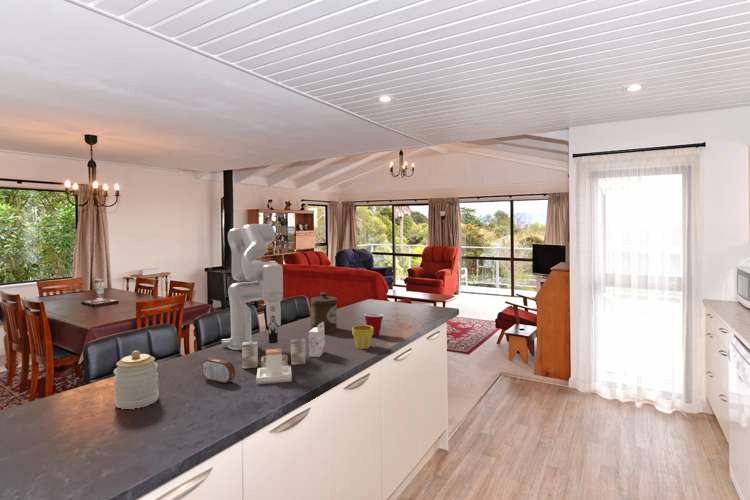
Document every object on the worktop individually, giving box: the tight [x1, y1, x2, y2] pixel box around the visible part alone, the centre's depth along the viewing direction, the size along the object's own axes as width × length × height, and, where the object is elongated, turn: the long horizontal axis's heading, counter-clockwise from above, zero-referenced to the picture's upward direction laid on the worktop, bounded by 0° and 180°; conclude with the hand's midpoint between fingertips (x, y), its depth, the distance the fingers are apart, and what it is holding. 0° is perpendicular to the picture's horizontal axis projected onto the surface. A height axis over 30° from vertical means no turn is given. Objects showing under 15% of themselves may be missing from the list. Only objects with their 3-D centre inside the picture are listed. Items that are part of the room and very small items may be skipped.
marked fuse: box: [265, 348, 283, 376], centre depth 162 cm, size 6×4×10 cm, turn 103°
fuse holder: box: [241, 337, 307, 369], centre depth 178 cm, size 26×9×10 cm, turn 103°
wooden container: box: [309, 291, 338, 334], centre depth 236 cm, size 15×15×22 cm
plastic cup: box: [363, 312, 385, 338], centre depth 224 cm, size 11×11×12 cm
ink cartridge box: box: [308, 322, 326, 358], centre depth 192 cm, size 9×5×15 cm, turn 168°
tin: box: [201, 357, 236, 384], centre depth 159 cm, size 15×3×8 cm, turn 65°
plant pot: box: [351, 324, 373, 350], centre depth 203 cm, size 10×10×10 cm
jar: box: [113, 350, 160, 410], centre depth 140 cm, size 13×13×18 cm
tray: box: [255, 365, 293, 385], centre depth 162 cm, size 13×11×2 cm
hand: (273, 339), depth 162 cm, fingers open, 9 cm apart
